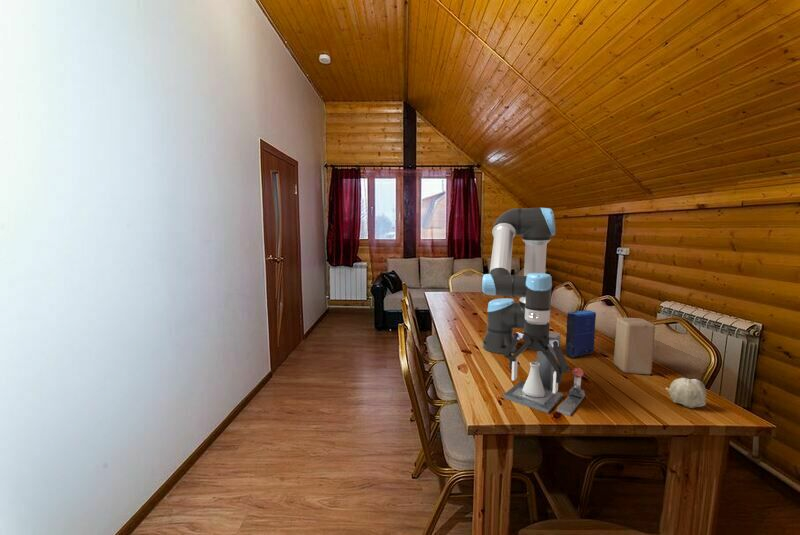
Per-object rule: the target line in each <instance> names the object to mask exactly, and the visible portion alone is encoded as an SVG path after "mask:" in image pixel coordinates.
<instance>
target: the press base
mask: <svg viewBox="0 0 800 535" xmlns="http://www.w3.org/2000/svg"><path fill="white" fill-rule="evenodd" d="M561 338H562V334H560V333H557V332H551V331H549V339H550V340H559V341H560V342H561V340H562V339H561ZM547 346H548V347H549V349H550V351H551V353H552V354H553V356H554V357H555V359H556V360H557V357H556V354H555V352H554V349H553V347H552V346H551V344H548V345H547ZM536 362H538V363H539V364H540V366H539V373H540V378H541V381H542V385H543V388H544V390H545V395H544V397H532V396H529V395H525V394H524V392H523V391H522V389H523V387H524V385H525V382H526V381H523V380H521V381H519V382H518V383H516V384H515V385H514V386H512V387H511V388H510V389H509V390H507V391H506V392H504V393H503V399H506V400H509V401H511V402H515V403H517V404H520V405H523V406H524V407H525V406H526V407H528V408H532V409H534V410H537V411H540V412H543V413H545V414H549V413H550V412H551V411H552V409H553V408H554V407H555V406H556V405H557V404H558V403H559V401H561V399H562V398H563V396H564V393H563V392H561V391H557V392H556V393H555V394H554V393H552V392H553V374H554V372H555V369H554V368H553V366H552V365H551V363H550V362H549V360H548V359H547V358H546V356H545V355H544V354H543V353H542V351H536ZM585 395H586V394H585V393H584V395H583V396H582V397H577V396H574V395H571V394H569V393H568V395H567V396H566V398H565V399H564V400H563V401H562V402H561V403H560V405H559V406H558V407H557V408H556V409H557V410H556V411H557V412H558V413H561V414H563V415H566V416H569V417H570V416H571V415H572V414H573V412H574V411H575V410H576V409H577V407H578V406H579V405H580V403H581V402H582V401H583V399H584V398H585Z"/></svg>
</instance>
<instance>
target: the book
mask: <svg viewBox="0 0 800 535" xmlns="http://www.w3.org/2000/svg"><path fill="white" fill-rule="evenodd" d="M596 317H597V312H596V311H592V310H587V309H585V310H577V311H569V312H567V316H566V333H565V334H566V336H565V338H566V339H565V349H564V350H565V351H564V355H565V356H567V357H568V358H578V357H584V356H587V355H591V354H593V353H594V352H595V338H596V337H595V335H596V334H595V333H596Z"/></svg>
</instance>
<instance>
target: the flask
mask: <svg viewBox="0 0 800 535" xmlns="http://www.w3.org/2000/svg"><path fill="white" fill-rule="evenodd" d="M529 365H530V369H529V373H528V376H527V377H526V380H525V381H524V382H525V385H524V387H523V389H522V391H523V392H524V394H525V395H529V396H532V397H544V395H545V390H544V388H543V385H542V381H541V378H540V373H539V366H540V364H539V363H538V362H537V361H530V362H529Z"/></svg>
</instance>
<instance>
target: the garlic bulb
mask: <svg viewBox="0 0 800 535" xmlns="http://www.w3.org/2000/svg"><path fill="white" fill-rule="evenodd" d="M665 390H666V392H669V396H670V399H672V401H673V403H676V404H680V405H682V406H684V407H685V408H688V409H694V408H700V407H703V406H706V404H707V403H706V399H707V389H706V387H705V384H704V383H703V382H702V381H701V380H698V379H696V378H693V379H692V378H691V379H690V378H686V377H680V378H679V377H678V378H675V379H673V381H672V382H671V383H670V385H669V388H668V387H665Z"/></svg>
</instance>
